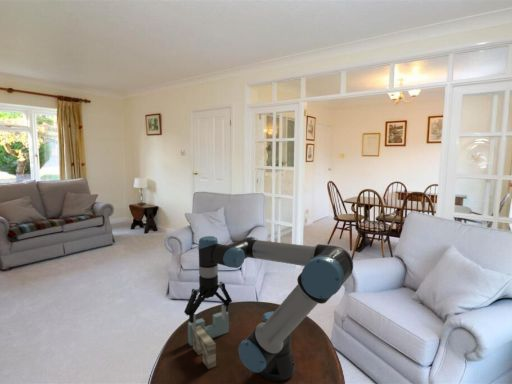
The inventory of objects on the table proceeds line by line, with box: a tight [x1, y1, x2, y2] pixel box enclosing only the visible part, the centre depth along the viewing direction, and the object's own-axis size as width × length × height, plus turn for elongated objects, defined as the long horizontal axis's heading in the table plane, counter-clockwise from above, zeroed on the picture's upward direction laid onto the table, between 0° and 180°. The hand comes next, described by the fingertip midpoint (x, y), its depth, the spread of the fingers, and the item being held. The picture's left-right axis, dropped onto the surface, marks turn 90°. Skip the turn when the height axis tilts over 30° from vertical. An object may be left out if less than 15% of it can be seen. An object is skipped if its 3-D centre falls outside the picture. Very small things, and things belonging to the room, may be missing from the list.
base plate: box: [187, 311, 230, 347], centre depth 145 cm, size 20×3×10 cm, turn 124°
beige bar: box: [192, 326, 217, 370], centre depth 131 cm, size 16×4×10 cm, turn 34°
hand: (209, 324), depth 124 cm, fingers open, 13 cm apart
